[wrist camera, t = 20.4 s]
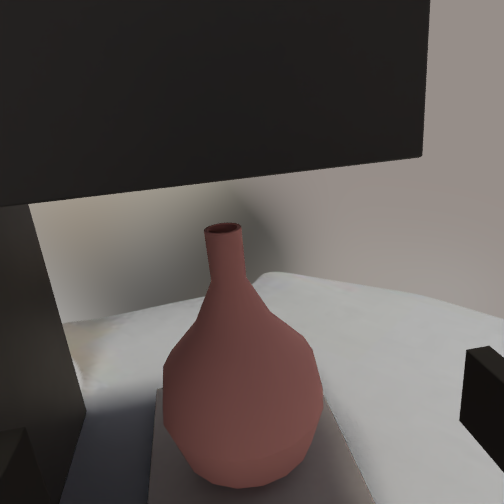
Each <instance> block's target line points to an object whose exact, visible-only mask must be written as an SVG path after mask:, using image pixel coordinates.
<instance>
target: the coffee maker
mask: <svg viewBox="0 0 504 504" xmlns="http://www.w3.org/2000/svg"><path fill="white" fill-rule="evenodd" d="M429 14H430V0H0V431H5V430H11V429H17V428H23V427H26V430H27V433H28V436H29V439H30V442H31V444H32V447H33V450H34V453H35V456H36V458H37V461H38V464H39V467H40V470H41V473H42V475H43V478H44V481H45V484H46V487H47V489H48V492H49V495H50V498H51V501H50V504H59V501H60V497H61V494H62V491H63V487H64V484H65V481H66V477H67V474H68V471H69V467H70V464H71V461H72V458H73V454H74V451H75V448H76V444H77V441H78V438H79V434H80V431H81V428H82V424H83V421H84V418H85V414H86V408H85V404H84V401H83V397H82V393H81V390H80V386H79V383H78V379H77V376H76V372H75V369H74V365H73V362H72V358H71V354H70V351H69V347H68V344H67V340H66V337H65V333H64V330H63V326H62V323H61V319H60V316H59V312H58V308H57V305H56V301H55V298H54V294H53V291H52V287H51V284H50V280H49V277H48V273H47V269H46V266H45V262H44V259H43V255H42V252H41V248H40V245H39V241H38V237H37V234H36V231H35V227H34V223H33V220H32V216H31V213H30V209H29V206H28V204H32V203H41V202H49V201H57V200H66V199H74V198H82V197H91V196H100V195H108V194H116V193H124V192H132V191H141V190H150V189H158V188H167V187H175V186H183V185H192V184H200V183H209V182H217V181H226V180H234V179H242V178H251V177H259V176H267V175H276V174H285V173H293V172H301V171H309V170H318V169H326V168H335V167H343V166H351V165H360V164H369V163H377V162H385V161H394V160H402V159H411V158H419V157H421V156H422V151H423V131H424V112H425V92H426V73H427V53H428V33H429V32H428V31H429ZM147 504H375V502H374V500H373V498H372V496H371V494H370V491H369V489H368V487H367V485H366V483H365V481H364V479H363V477H362V475H361V473H360V470H359V468H358V466H357V464H356V462H355V460H354V458H353V456H352V454H351V452H350V449H349V447H348V445H347V443H346V441H345V439H344V437H343V435H342V433H341V431H340V429H339V426H338V424H337V422H336V420H335V418H334V416H333V414H332V412H331V410H330V408H329V405H328V403H327V401H326V399H325V397H324V395H323V410H322V413H321V416H320V419H319V422H318V425H317V428H316V431H315V434H314V437H313V440H312V443H311V445H310V447H309V449H308V451H307V453H306V456H305V458H304V460H303V461H302V462H301V463H300V464H299V465H298V466H296V467H295V468H294V469H293V470H292V471H291V472H290V473H289V474H288V475H287V476H285V477H282V478H280V479H278V480H275V481H273V482H271V483H269V484H266V485H264V486H258V487H249V488H240V489H235V488H230V487H226V486H221V485H216V484H212V483H211V482H209V481H207V480H206V479H204V478H203V477H201V476H199V475H198V474H196V473H195V472H194V471H193V469H192V468H191V466H190V465H189V463H188V462H187V460H186V459H185V457H184V456H183V454H182V453H181V451H180V449H179V448H178V446H177V445H176V443H175V442H174V440H173V439H172V437H171V436H170V434H169V432H168V431H167V429H166V428H165V426H164V424H163V388H160V389H157V394H156V406H155V418H154V430H153V442H152V454H151V467H150V479H149V491H148V503H147Z"/></svg>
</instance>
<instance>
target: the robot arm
mask: <svg viewBox="0 0 504 504" xmlns="http://www.w3.org/2000/svg"><path fill="white" fill-rule="evenodd" d="M459 420H460V422H461V423H462V424H463V425H464V426H465V428H466V429H467V430H468V431H469V432H470V433H471V435H472V436H473V437H474V438H475V439H476V440H477V442H478V443H479V444H480V445H481V446H482V447H483V449H484V450H485V451H486V452H487V453H488V455H489V456H490V457H491V458H492V459H493V460H494V462H495V463H496V464H497V465H498V466H499V467H500V469H501V470H502V471H503V472H504V357H502V356H501V355H500V354H499V353H497V352H496V351H495V350H494V349H492V348H491V347H490V346H486V347H480V348H475V349H469V350H466V360H465V369H464V379H463V389H462V399H461V409H460V419H459ZM50 501H51V498H50V495H49V492H48V489H47V487H46V484H45V481H44V478H43V475H42V473H41V470H40V467H39V464H38V461H37V458H36V456H35V453H34V450H33V447H32V444H31V442H30V439H29V436H28V433H27V430H26V427H23V428H17V429H11V430H5V431H0V504H50Z"/></svg>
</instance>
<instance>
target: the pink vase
mask: <svg viewBox="0 0 504 504" xmlns="http://www.w3.org/2000/svg"><path fill="white" fill-rule="evenodd" d="M204 234H205V241H206V248H207V255H208V262H209V268H210V275H211V283H210V286H209V289H208V291H207V294H206V296H205V299H204V301H203V304H202V306H201V309H200V312H199V314H198V317H197V319H196V321H195V322H194V324H193V325H192V326H191V327H190V329H189V330H188V331H187V332H186V333H185V335H184V336H183V337H182V338H181V340H180V341H179V342H178V343H177V344H176V346H175V347H174V348H173V349H172V351H171V352H170V354H169V356H168V358H167V360H166V362H165V364H164V366H163V424H164V426H165V428H166V429H167V431H168V432H169V434H170V436H171V437H172V439H173V440H174V442H175V443H176V445H177V446H178V448H179V449H180V451H181V453H182V454H183V456H184V457H185V459H186V460H187V462H188V463H189V465H190V466H191V468H192V469H193V471H194V472H195V473H196V474H198V475H199V476H201V477H203V478H204V479H206V480H207V481H209V482H211V483H212V484H216V485H221V486H226V487H230V488H235V489H240V488H249V487H258V486H264V485H266V484H269V483H271V482H273V481H275V480H278V479H280V478H282V477H285V476H287V475H288V474H289V473H290V472H291V471H292V470H293V469H294V468H295V467H296V466H298V465H299V464H300V463H301V462H302V461H303V460H304V458H305V456H306V453H307V451H308V449H309V447H310V445H311V443H312V440H313V437H314V434H315V431H316V428H317V425H318V422H319V419H320V416H321V413H322V410H323V388H322V384H321V380H320V376H319V373H318V369H317V365H316V361H315V357H314V354H313V350H312V348H311V347H310V345H309V344H308V342H307V341H306V339H305V338H304V337H303V336H302V335H301V334H299V333H298V332H297V331H295V330H294V329H293V328H291V327H290V326H289V325H287V324H286V323H285V322H283V321H282V320H281V319H279V318H278V317H277V316H275V315H274V314H273V313H271V312H270V311H269V309H268V308H267V306H266V305H265V303H264V302H263V301H262V299H261V298H260V296H259V295H258V293H257V292H256V291H255V289H254V288H253V286H252V285H251V283H250V282H249V281H248V279H247V278H246V270H245V261H244V250H243V241H242V230H241V226H240V225H239V224H236V223H219V224H214V225H211V226H208V227H207V228H205V229H204Z"/></svg>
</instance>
